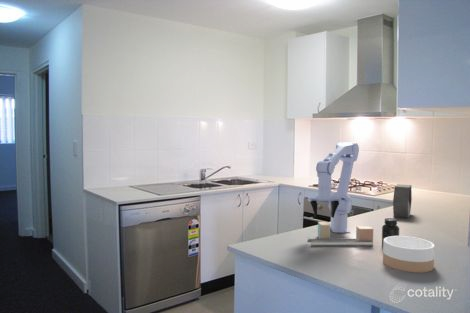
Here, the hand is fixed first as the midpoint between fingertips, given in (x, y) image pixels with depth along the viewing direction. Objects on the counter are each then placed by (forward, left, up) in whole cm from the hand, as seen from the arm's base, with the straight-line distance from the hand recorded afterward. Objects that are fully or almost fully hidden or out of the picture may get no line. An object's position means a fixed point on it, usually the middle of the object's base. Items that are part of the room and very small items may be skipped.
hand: (324, 217), depth 172 cm
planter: (-46, +57, -10) cm, 74 cm away
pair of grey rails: (+8, +5, -10) cm, 13 cm away
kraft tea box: (0, 0, -10) cm, 10 cm away
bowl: (+33, +23, -10) cm, 41 cm away
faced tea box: (+7, +16, -10) cm, 20 cm away
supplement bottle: (+13, +25, -10) cm, 30 cm away
